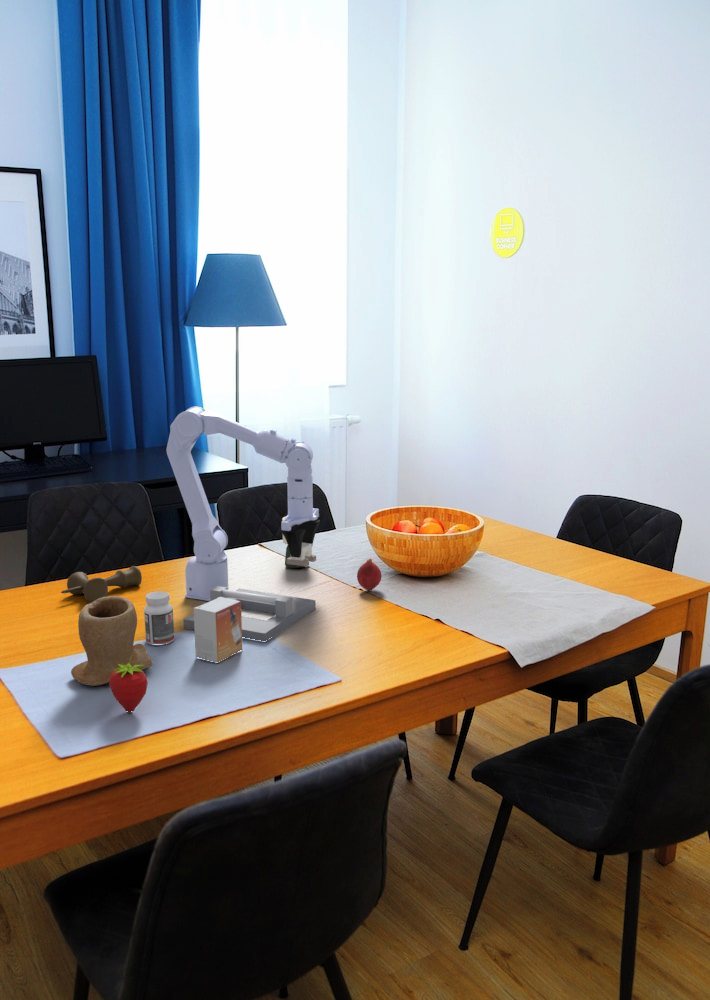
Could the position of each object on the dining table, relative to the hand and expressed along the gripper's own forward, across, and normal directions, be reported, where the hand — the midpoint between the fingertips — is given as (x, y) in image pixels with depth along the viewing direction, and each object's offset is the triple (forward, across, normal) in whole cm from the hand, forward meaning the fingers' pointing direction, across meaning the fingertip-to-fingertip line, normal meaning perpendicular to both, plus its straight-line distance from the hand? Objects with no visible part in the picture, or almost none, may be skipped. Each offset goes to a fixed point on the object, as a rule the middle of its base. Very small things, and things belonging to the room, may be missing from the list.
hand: (301, 553), depth 206 cm
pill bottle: (+11, -36, +13) cm, 40 cm away
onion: (+10, +10, -13) cm, 19 cm away
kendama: (+11, -17, +44) cm, 49 cm away
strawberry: (+11, -64, -1) cm, 65 cm away
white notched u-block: (+2, 0, 0) cm, 2 cm away
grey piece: (+10, -17, +3) cm, 20 cm away
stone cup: (+11, -53, +11) cm, 55 cm away
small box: (+11, -37, -2) cm, 39 cm away
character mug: (+11, +20, +12) cm, 26 cm away
